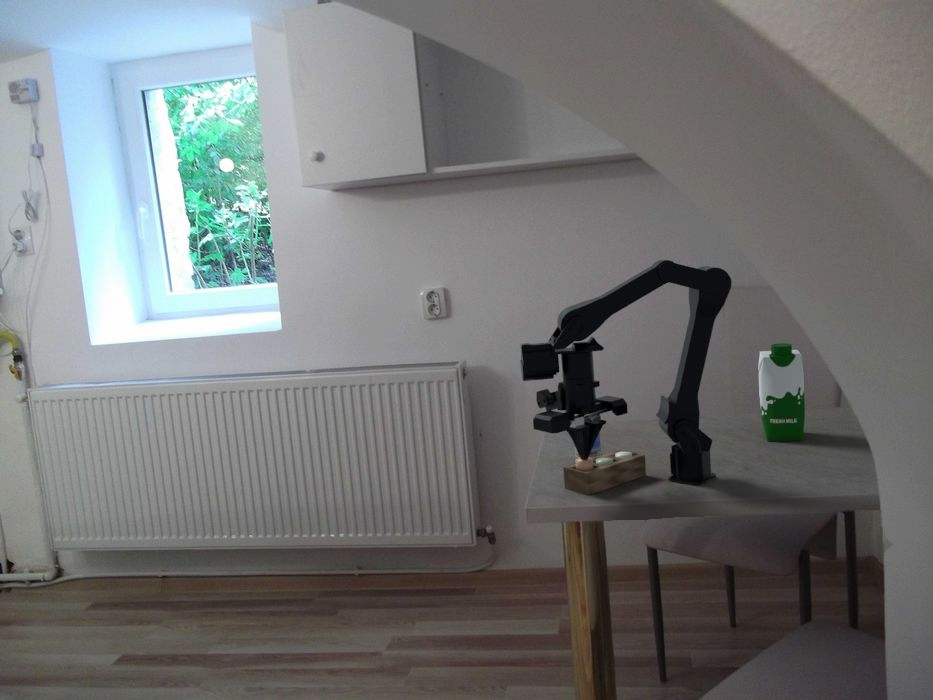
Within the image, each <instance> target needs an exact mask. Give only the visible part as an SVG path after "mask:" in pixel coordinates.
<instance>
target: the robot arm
mask: <svg viewBox="0 0 933 700" xmlns="http://www.w3.org/2000/svg"><path fill="white" fill-rule="evenodd" d="M732 282H733V281H732V278H731V276H730V275H729V273H728V272H727V271H726V270H724V269H723V268H720V267H716V266H709V265H703V266H700V267H698V268H696V267H693V266H687V265H684V264H680V263H675V262H674V261H673V260H669V259H659V260H656V261H655V262H654V263H653V264H652V265H650V266H648V267H646V268H645V269H644V270H642V271H640V272H638V273H637V274H635V275H633V276H631V277H630V278H628V279H626V280H625V281H623V282H621V283H620V284H618V285H617V286H615V287H613V288H612V289H611V288H610V290H607V291H606V292H604V293H602V294H600V295H599V296H596V297H594V298H591V299H587V300H584V301H580V302H577V303H575V304H572V305H569V306H567V307H565V308H564V309H562V310H561V311H560V313H559V314H558V317H557V323H556V324H557V326H556V328H555V330H554V331H553V332H552V334H551V335H550V337H549V339H548V341H547V342H539V343H529V342H527V343H521V344H520V360H519V362H520V373H521V379H522V382H529V381H532V382H533V381H542V380H551V379H554V377H555V376H556V375H557V374H559V373H560V360H559V359H561V372H562V381H560V382H558V384H557V390H555V391H552V392H551V391H550V390H549V388H545V389H541V390H537V391H536V404H537V407H538V408H539V409H544V408H545V411H542V412H539V413H536V414H534V417H533V418H532V423H533V424H532V426H533V430H536V431H539V432H545V433H549V434H559V433H564V432H567V433H568V435H569V437H570V438H571V439H572V440H571V441H572V442H573V444H574V445H575V447H576V449H577V451H578V454H579V456H580V458H581V459H582V460H586V459H588V457H589V455H590V453H591V450H592V448H593V445H594V443H595V441H596V438H597V436H598V434H599V433H600V432H601V430H602V429H603V426H604V425H606V424H607V420H605V419H602V418H601V414H605V413H607V412H612V414H614V415H615V416H617V417H618V416H619V417H620V416H622V415H625V414H626V415H627V414H628V410H629V409H628V403H627V401H626V400H625V399H624V398H623V397H618V396H613V395H612V396H611V395H605V396H604V395H603V396H599V397H597V396H596V388H599V387H600V385H601V384H600V383H601V382H600V380H595V368H594V353H593V352H602V351H604V346H603V345H602V344H600V343H598V341H597V340H596V338H595V337H594V336H591V335H592V334H593V333H595V332H596V331H597V330H598V329H600V328H601V326H602V325H603V324H604V323H605V322H607V320H608V319H609V318H610V317H611V316H613V315H614V314H616V313H618V312H619V311H621V310H623V309H625V308H627V307H628V306H630V305H632V304H633V303H635V302H637V301H639V300H640V299H642V298H643V297H646V296H647V295H649V294H651V293H652V292H654V291H656V290H657V289H659V288H661V287H662V286H664V285H666V284H668V283H670V284H672V285H673V284H674V285H678V286H681V287H684V288H688V303H689V306H688V307H689V319H688V324H687V328H686V332H685V337H684V342H683V346H682V351H681V355H680V360H679V364H678V368H677V372H676V373H677V374H676V376H675V377H676V378H675V382H674V387H673V389H672V390H671V393H670V394H669V395H668V397H667V396H664V395H661V396H660V401H659V402H660V403H659V409H658V411H657V413H656V417H657V418H658V425H659V427H660V428H661V430H662V431H663V433H664V434H665V435H666V436H667V437H668V438H669V439H670V440H671V442H672V443H674V444H673V445H671V447H670V449H671V452H670V453H669V464H670V466H669V467H670V474H671V475H670V476H669V477H668V478H667V479H668V481H672V482H678V483H684V484H689V485H695V486H699V485H700V486H701V485H703V484H704V483H706V482H707V481H710V480H712V479H713V478H715V477H716V476H717V474H716V473H715V472H712V464H711V463H712V460H711V459H712V458H711V447H712V444H713V439H712V438H711V437H709V436H708V435H707V434H706V433H705V432H704V431H702V430H701V429H700V414H701V413H700V403H699V390H700V387H701V383H702V378H703V375H704V369H705V365H706V360H707V356H708V351H709V346H710V343H711V339H712V334H713V329H714V324H715V320H716V318H718V317H717V316H718V315H719V313H720V312H721V311H722V309H723V307H724V306H725V303H726V302H727V299H728V296H729V294H730V292H731V290H732V284H733V283H732ZM588 338H589V339H588ZM586 339H588V340H587V341H584V340H586ZM569 346H571V347H569ZM559 355H560V358H559ZM556 410H557V411H556ZM562 411H564V412H562ZM576 414H578V415H576ZM574 445H573V446H574ZM575 447H574V448H575Z"/></svg>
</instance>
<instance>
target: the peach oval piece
mask: <svg viewBox="0 0 933 700" xmlns="http://www.w3.org/2000/svg"><path fill="white" fill-rule="evenodd" d="M574 462H575V463H576V470H579V471H583V472H585V471H588V470H591V469H593V459H592V458H590V457H588V459H586V460H582V459H581V458H575V461H574Z"/></svg>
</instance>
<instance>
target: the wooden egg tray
mask: <svg viewBox="0 0 933 700" xmlns="http://www.w3.org/2000/svg"><path fill="white" fill-rule="evenodd" d="M618 452H631V453H632V456H631V457H628V458H625V459H622V458H618V457H615V454H616V453H618ZM599 458H612V459H613V463H610V464H607V465H601V464H598V463H596V459H599ZM592 459H593V469H591V470H588V471H585V472H583V471H579V470H576V462H575V463H574V464H573V463H572V464H570V465H566V466H563V482H564V489H566V490H570V491H573V492H577V493H581V494H583V495H587V496H590V495H593V494H596V493H599V492H603V491H605V490H607V489H610V488H613V487H616V486H620V485H622V484H625V483H627V482H630V481H634V480H636V479H640V478H642V477H644V476H647V471H646V470H647V469H646V466H647V465H646V454H643V453H638V452H635V451H634V452H633V451H629V450H625V449H622V448H621V449H618V450H614V451H611V452H608V453H604V454H601V456H598V457H594V458H592Z"/></svg>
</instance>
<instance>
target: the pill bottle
mask: <svg viewBox="0 0 933 700" xmlns="http://www.w3.org/2000/svg"><path fill="white" fill-rule="evenodd" d="M576 415H578V414H576ZM573 446H574V455H575V459H577V458H580V456H579V454H578V451H577V449H576V447H575V445H573ZM601 455H602V448H601V436H600V432H599V434H598V436H597V438H596V441H595V443H594V445H593V448H592V450H591V453H590V455H589V457H590V458H594V457H598V456H601Z"/></svg>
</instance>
